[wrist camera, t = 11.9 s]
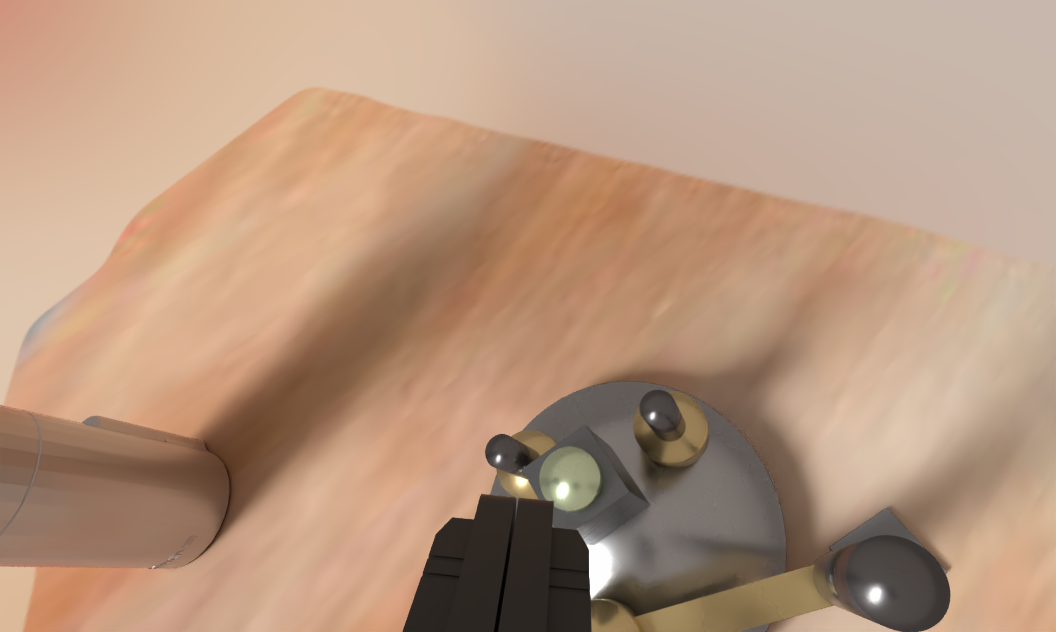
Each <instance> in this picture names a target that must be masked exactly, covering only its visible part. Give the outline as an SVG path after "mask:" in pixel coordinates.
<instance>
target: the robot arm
mask: <svg viewBox="0 0 1056 632" xmlns="http://www.w3.org/2000/svg"><path fill="white" fill-rule="evenodd" d="M229 492H230V490H229V478H228V474H227V470H226V468H225V466H224V464H223V462H222V461H221V460H220V459H219V458H218V457H217V456H216V455H214V454H212V453H211V452H209V451H207V449H206V447H205V443H204V441H200V440H196V439H192V438H188V437H184V436H180V435H175V434H171V433H167V432H163V431H159V430H155V429H151V428H146V427H142V426H138V425H134V424H130V423H126V422H121V421H117V420H113V419H109V418H105V417H101V416H92V417H89V418H87V419H86V420H85V421H83V422H82V423H79V422H74V421H70V420H65V419H61V418H56V417H52V416H48V415H43V414H39V413H34V412H30V411H25V410H20V409H15V408H11V407H6V406H2V405H0V566H10V567H15V566H17V567H88V568H148V569H156V568H177V567H180V566H184V565H186V564H188V563H189V562H191V561H193V560H194V559H196V558H197V557H198V556H199V555H200V554H201V553H202V552H203V551H204V550H205V549H206V548H207V547H208V545H209V544H210V543H211V542H212V540H213V539H214V537H215V535H216V534H217V532H218V530H219V528H220V526H221V524H222V521H223V519H224V517H225V513H226V510H227V506H228V500H229ZM553 507H554V501H548V500H538V499H528V498H519V500H518V506H517V513H516V497H506V496H496V495H485V494H481V496H480V499H479V503H478V507H477V511H476V515H475V518H474V520H472V519H463V518H453V517H452V518H451V519H450V520H449V521H448V522H447V523H446V524H445V525H444V527H443V528H442V529H441V530H440V531H439V532H438V533H437V534H436V536H435V539H434V542H433V544H432V547H431V550H430V553H429V558H428V559H427V562H426V565H425V568H424V571H423V576H422V577H421V579H420V582H419V585H418V588H417V591H416V594H415V597H414V600H413V603H412V606H411V609H410V611H409V614H408V617H407V620H406V623H405V626H404V629H403V632H592V626H591V594H590V561H589V548H588V547H587V545H586V543H585V541H584V540H583V538H582V536H581V534H580V533H579V531H578V530H573V529H563V528H553V527H552V524H553ZM515 517H516V519H515Z"/></svg>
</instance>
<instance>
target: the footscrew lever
mask: <svg viewBox="0 0 1056 632" xmlns="http://www.w3.org/2000/svg"><path fill="white" fill-rule="evenodd" d="M949 603H950V587H949V583H948V580H947V577H946V574H945V572H944V570H943V569H942V567H941V565H940V564H939V563H938V561H937V560H936V559H935V558H934V557H933V556H932V555H931V554H930V553H929V552H928V551H927V550H926V549H924V548H923V547H922V546H920V545H918V544H917V543H915V542H913V541H911V540H908V539H906V538H903V537H899V536H893V535H879V536H874V537H871V538H868V539H865V540H863V541H860V542H857V543H854V544H851V545H849V546H846V547H843V548H840V549H838V550H835V551H832V552H829V553H826V554H824V555H822V556H820V557H819V558H818V559H817V560H816V561H815V562H814V564H813V565H810V566H807V567H803V568H800V569H797V570H793V571H790V572H786V573H783V574H780V575H776V576H773V577H769V578H766V579H762V580H759V581H756V582H752V583H749V584H745V585H742V586H739V587H735V588H732V589H728V590H725V591H722V592H718V593H715V594H711V595H708V596H704V597H701V598H698V599H694V600H691V601H687V602H684V603H681V604H677V605H674V606H670V607H667V608H664V609H660V610H657V611H653V612H650V613H646V614H643V615H640V616H637V614H636V613H635V612H634V611H633V610H632V609H631V608H629V607H628V606H627V605H625V604H623V603H621V602H619V601H617V600H613V599H596V600H591V626H592V632H740V631H743V630H747V629H751V628H754V627H758V626H762V625H765V624H769V623H772V622H776V621H780V620H783V619H787V618H790V617H794V616H798V615H801V614H805V613H809V612H812V611H816V610H819V609H823V608H827V607H830V606H834V605H835V606H837V607H840V608H842V609H844V610H847V611H849V612H852V613H854V614H856V615H859V616H861V617H863V618H866V619H868V620H871V621H873V622H875V623H878V624H880V625H883V626H885V627H887V628H890V629H893V630H897V631H901V632H919V631H924V630H927V629H929V628H931V627H933V626H935V625H936V624H937V623H939V622H940V620H941V619H942V618H943V617H944V615H945V614H946V612H947V609H948V607H949Z"/></svg>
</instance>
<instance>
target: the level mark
mask: <svg viewBox="0 0 1056 632" xmlns="http://www.w3.org/2000/svg"><path fill="white" fill-rule="evenodd" d="M879 535H893V536H899V537H903V538H906V539H908V540H911V541H913V542H915V543H917V544H918V545H920V546H922V545H921V544H920V542H919V541H918V540H917V539H916V538H915V537H914V536H913V535H912V534H911V533H910V532H909V531H908V530H907V528H906V527H905V526H904V525H903V524H902V523H901V522H900V521H899V520H898V519H897V518H896V517H895V516H894V514H893V513H892V512H891V511H890V510H889V509H888V508H886V509H884V510H883V511H881V512H880V513H879V514H877V515H876V516H874V517H873V518H871V519H870V520H868V521H867V522H865V523H864V524H863V525H861V526H860V527H858V528H857V529H855V530H854V531H852V532H851V533H849V534H848V535H846V536H845V537H844V538H842V539H841V540H839V541H838V542H836V543H835V544H833V545H832V546H830V547H829V548H830V549H831V550H832V551H835V550H838V549H840V548H843V547H846V546H849V545H851V544H854V543H857V542H860V541H863V540H865V539H868V538H871V537H874V536H879ZM922 547H923V546H922ZM923 548H924V547H923ZM924 549H925V548H924ZM941 567H942V566H941ZM942 569H943V570H944V572H945V574H946V573H947V572H946V571H945V569H944V568H943V567H942Z"/></svg>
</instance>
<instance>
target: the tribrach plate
mask: <svg viewBox="0 0 1056 632" xmlns="http://www.w3.org/2000/svg"><path fill="white" fill-rule="evenodd" d="M485 455H486V459H487V461H488V463H489V464H490V465H491V466H493V467H495V468H497V475H496V477H495V481H494V484H493V487H492V491H491V494H490V495H496V496H506V497H516V513H517V506H518V500H519V498H528V499H538V500H548V501H554V507H553V524H552V527H553V528H563V529H573V530H578V531H579V533H580V534H581V536H582V538H583V540H584V541H585V543H586V545H587V547H588V548H589V561H590V594H591V600H596V599H613V600H617V601H619V602H621V603H623V604H625V605H627V606H628V607H629V608H631V609H632V610H633V611H634V612H635V613H636V614H637V616H640V615H643V614H646V613H650V612H653V611H657V610H660V609H664V608H667V607H670V606H674V605H677V604H681V603H684V602H687V601H691V600H694V599H698V598H701V597H704V596H708V595H711V594H715V593H718V592H722V591H725V590H728V589H732V588H735V587H739V586H742V585H745V584H749V583H752V582H756V581H759V580H762V579H766V578H769V577H773V576H776V575H780V574H783V573H785V568H786V535H785V527H784V520H783V515H782V511H781V507H780V503H779V500H778V496H777V493H776V491H775V488H774V486H773V483H772V481H771V479H770V476H769V474H768V472H767V470H766V469H765V467H764V465H763V463H762V461H761V460H760V458H759V456H758V455H757V453H756V452H755V451H754V449H753V448H752V446H751V445H750V444H749V442H748V441H747V440H746V438H745V437H744V436H743V435H742V434H741V433H740V432H739V431H738V430H737V429H736V428H735V427H734V426H733V425H732V424H731V423H730V422H729V421H728V420H727V419H725V418H724V417H723V416H722V415H721V414H719V413H718V412H717V411H716V410H714V409H713V408H711V407H709V406H708V405H706V404H705V403H703V402H702V401H700V400H698V399H696V398H694V397H692V396H690V395H688V394H686V393H683V392H681V391H678V390H675V389H672V388H669V387H666V386H662V385H657V384H652V383H646V382H632V381H624V382H610V383H605V384H599V385H594V386H591V387H588V388H585V389H582V390H579V391H576V392H574V393H572V394H570V395H568V396H566V397H564V398H561V399H560V400H558V401H557V402H555V403H554V404H552V405H550V406H549V407H547V408H546V409H545V410H544V411H542V412H541V413H540V414H539V415H538V416H536V417H535V418H534V419H533V420H532V421H531V422H530V423H529V424H528V425H527V426H526V427H525V429H524V430H523V431H521V432H518V433H516V434H514V435H513V436H511V437H510V436H508V435H505V434H499V435H496V436H494V437H493V438H492V439H491V440H490V441H489V442H488V444H487V446H486V451H485ZM515 519H516V517H515ZM769 625H770V623H769V624H765V625H762V626H758V627H754V628H751V629H747V630H743V631H740V632H766V631H767V629H768V627H769Z"/></svg>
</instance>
